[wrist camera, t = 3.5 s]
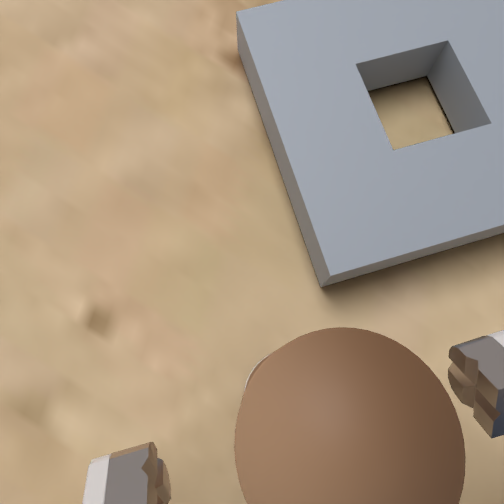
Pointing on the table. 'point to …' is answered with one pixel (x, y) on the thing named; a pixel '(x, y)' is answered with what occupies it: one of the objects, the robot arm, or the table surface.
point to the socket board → (380, 124)
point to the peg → (347, 425)
